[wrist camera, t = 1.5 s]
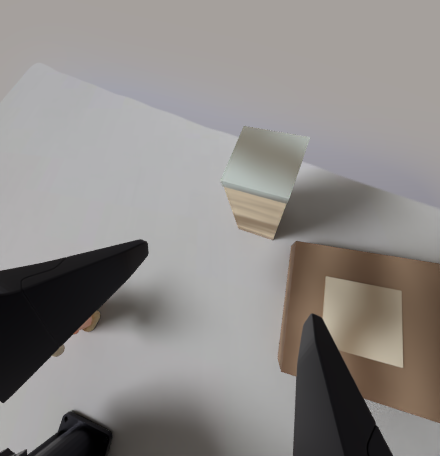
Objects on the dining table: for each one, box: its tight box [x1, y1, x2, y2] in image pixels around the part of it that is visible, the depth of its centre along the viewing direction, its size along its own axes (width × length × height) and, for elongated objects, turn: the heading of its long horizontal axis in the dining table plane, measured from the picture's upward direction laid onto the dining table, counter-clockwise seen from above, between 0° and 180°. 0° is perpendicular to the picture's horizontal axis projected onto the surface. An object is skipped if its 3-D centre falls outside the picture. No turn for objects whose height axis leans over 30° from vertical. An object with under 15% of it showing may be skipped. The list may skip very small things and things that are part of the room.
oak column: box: [221, 126, 310, 240], centre depth 18 cm, size 5×5×12 cm
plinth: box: [278, 241, 440, 423], centre depth 18 cm, size 12×12×3 cm
